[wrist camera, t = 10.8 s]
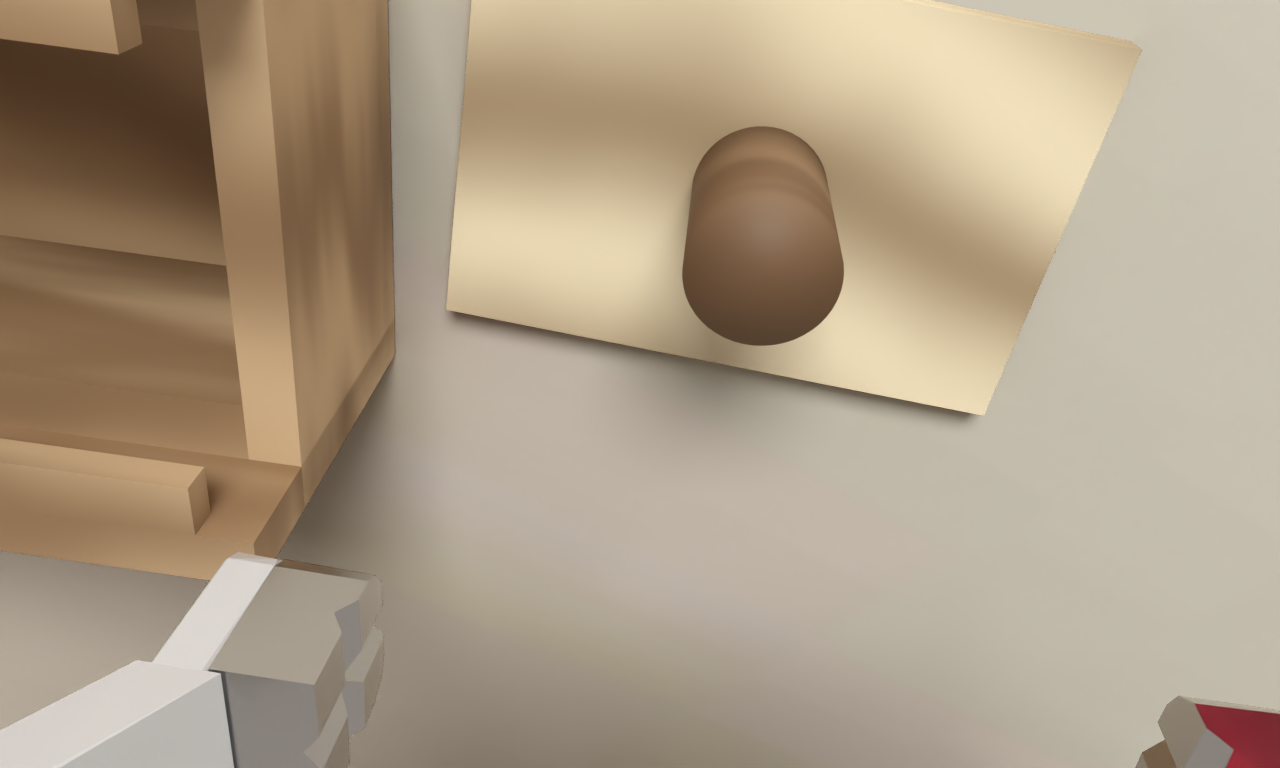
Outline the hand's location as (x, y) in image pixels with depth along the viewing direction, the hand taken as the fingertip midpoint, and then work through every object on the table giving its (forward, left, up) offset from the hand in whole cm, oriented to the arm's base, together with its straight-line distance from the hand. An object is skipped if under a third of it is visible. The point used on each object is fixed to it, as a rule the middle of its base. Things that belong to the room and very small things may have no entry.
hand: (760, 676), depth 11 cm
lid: (+1, 0, -14) cm, 14 cm away
